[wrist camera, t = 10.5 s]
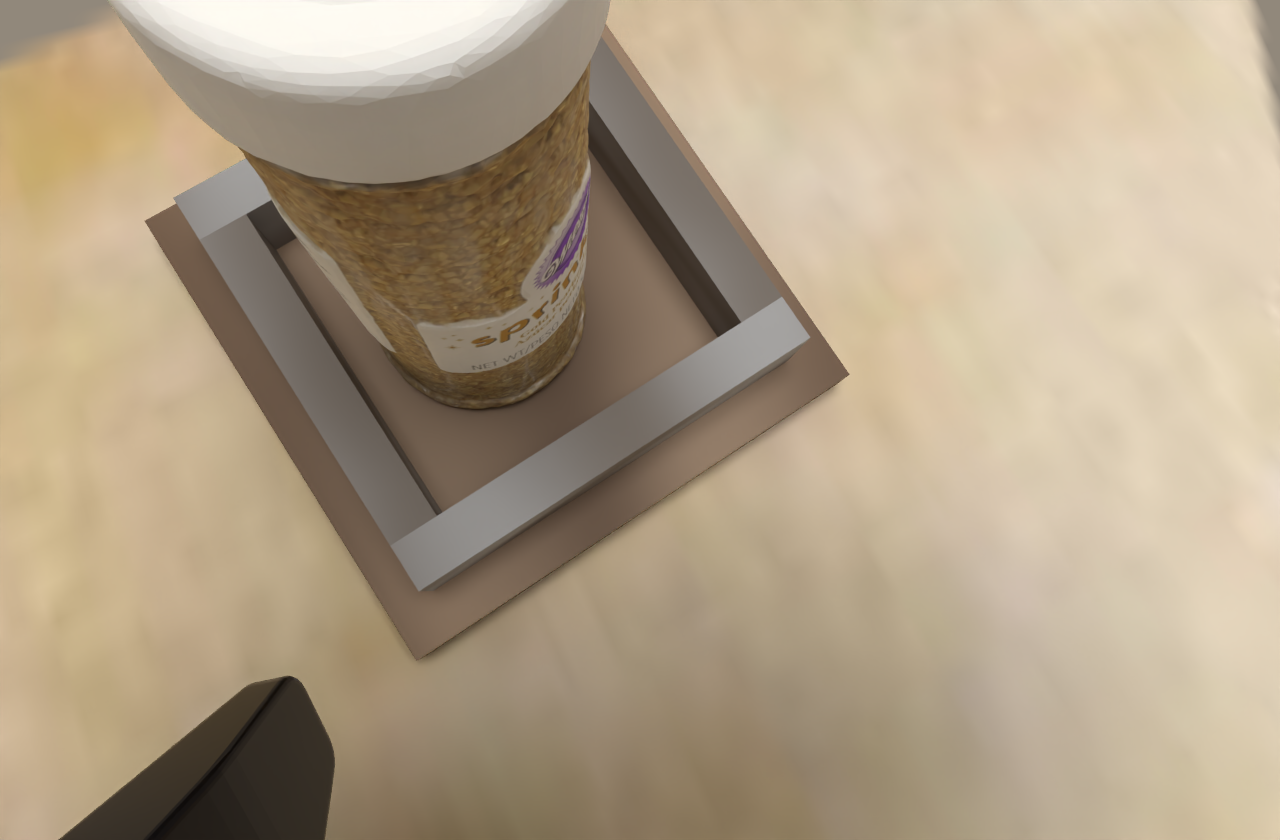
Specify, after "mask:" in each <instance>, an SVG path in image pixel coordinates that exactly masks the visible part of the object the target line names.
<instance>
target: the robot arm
mask: <svg viewBox="0 0 1280 840" xmlns="http://www.w3.org/2000/svg"><path fill="white" fill-rule="evenodd" d="M334 768H335V758H334V751H333V747H332V743H331V741H330V738H329V736H328V734H327V732H326V730H325V728H324V726H323V724H322V722H321V720H320V718H319V716H318V714H317V712H316V710H315V708H314V706H313V704H312V701H311V699H310V697H309V695H308V693H307V691H306V689H305V688H304V686H303V684H302V683H301V682H300V681H299V680H298V679H296V678H294V677H291V676H284V677H279V678H274V679H270V680H265V681H260V682H255V683H252V684H250V685H248V686H246V687H245V688H243V689H242V690H241V691H240V692H239V693H237V694H236V695H235V696H234V697H232V698H231V699H230V700H229V701H228V702H226V703H225V704H224V705H223V706H221V707H220V708H219V709H218V710H217V711H215V712H214V713H213V714H212V715H210V716H209V717H208V718H207V719H206V720H204V721H203V722H202V723H201V724H199V725H198V726H197V727H196V728H195V729H193V730H192V731H191V732H190V733H188V734H187V735H186V736H185V737H184V738H182V739H181V740H180V741H179V742H177V743H176V744H175V745H174V746H173V747H171V748H170V749H169V750H168V751H166V752H165V753H164V754H163V755H162V756H160V757H159V758H158V759H157V760H155V761H154V762H153V763H152V764H151V765H149V766H148V767H147V768H146V769H144V770H143V771H142V772H141V773H140V774H138V775H137V776H136V777H135V778H133V779H132V780H131V781H130V782H129V783H127V784H126V785H125V786H124V787H122V788H121V789H120V790H119V791H118V792H116V793H115V794H114V795H113V796H111V797H110V798H109V799H108V800H107V801H105V802H104V803H103V804H102V805H100V806H99V807H98V808H97V809H96V810H94V811H93V812H92V813H91V814H89V815H88V816H87V817H86V818H85V819H83V820H82V821H81V822H80V823H78V824H77V825H76V826H75V827H74V828H72V829H71V830H70V831H69V832H67V833H66V834H65V835H64V836H63V837H61V838H60V839H59V840H325V834H326V827H327V820H328V813H329V806H330V798H331V791H332V784H333V777H334Z"/></svg>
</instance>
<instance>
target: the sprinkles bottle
mask: <svg viewBox="0 0 1280 840" xmlns="http://www.w3.org/2000/svg"><path fill="white" fill-rule="evenodd" d="M107 1H108V3H109V4H110V5H111V7H112V8H113V10H114V11H115V13H116V14H117V15H118V17H119V18H120V20H121V21H122V23H123V24H124V25H125V27H126V28H127V30H128V31H129V33H130V34H131V35H132V37H133V38H134V39H135V41H136V42H137V43H138V45H139V46H140V47H141V49H142V50H143V51H144V53H145V54H146V55H147V57H148V58H149V59H150V61H151V62H152V63H153V65H154V66H155V67H156V69H157V70H158V71H159V73H160V74H161V75H162V77H163V78H164V79H165V81H166V82H167V83H168V85H169V86H170V87H171V88H172V89H173V90H174V92H175V93H176V94H177V95H178V96H179V97H180V98H181V99H182V101H183V102H184V103H185V104H186V105H187V106H188V107H189V108H190V109H191V110H192V111H193V112H194V113H195V114H196V115H197V116H198V117H200V118H201V119H202V120H203V121H204V122H205V123H206V124H207V125H209V126H210V127H211V128H212V129H214V130H215V131H216V132H217V133H219V134H220V135H221V136H222V137H224V138H225V139H226V140H228V141H229V142H231V143H233V144H234V145H236V146H238V148H239V149H240V150H241V151H242V152H243V153H244V155H245V157H246V159H247V160H248V162H249V163H250V165H251V166H252V167H253V168H254V169H255V171H256V172H257V174H258V175H259V177H260V178H261V179H262V181H263V182H264V184H265V186H266V189H267V192H268V194H269V196H270V198H271V200H272V201H273V203H274V205H275V207H276V208H277V210H278V212H279V213H280V215H281V216H282V218H283V219H284V221H285V222H286V223H287V225H288V226H289V227H290V229H291V230H292V232H293V233H294V234H295V236H296V237H297V238H298V240H299V241H300V242H301V244H302V245H303V246H304V248H305V249H306V251H307V252H308V253H309V255H310V256H311V257H312V259H313V260H314V261H315V263H316V264H317V265H318V266H319V268H320V269H321V270H322V272H323V273H324V274H325V276H326V277H327V278H328V279H329V281H330V282H331V283H332V285H333V286H334V287H335V289H336V290H337V291H338V292H339V294H340V295H341V296H342V298H343V299H344V300H345V301H346V303H347V304H348V305H349V307H350V308H351V309H352V310H353V312H354V313H355V314H356V316H357V317H358V318H359V320H360V321H361V322H362V324H363V325H364V326H365V327H366V329H367V330H368V331H369V332H370V333H371V334H372V335H373V336H374V337H375V338H376V339H377V340H378V341H379V342H380V345H381V347H382V349H383V351H384V353H385V355H386V357H387V358H388V360H389V361H390V362H391V363H392V364H393V365H394V367H395V368H396V369H397V370H398V371H399V373H400V374H401V375H402V377H403V378H404V380H405V381H406V382H407V383H409V384H410V385H411V386H413V387H415V388H416V389H418V390H419V391H421V392H422V393H423V394H425V395H427V396H429V397H430V398H432V399H434V400H436V401H438V402H440V403H442V404H445V405H449V406H454V407H460V408H469V409H486V408H489V407H500V406H504V405H508V404H514V403H516V402H518V401H521V400H523V399H525V398H527V397H529V396H531V395H533V394H535V393H536V392H537V391H539V390H541V389H542V388H543V387H545V386H546V385H547V384H548V383H550V382H551V381H552V379H553V378H554V377H555V376H556V375H557V374H558V373H560V372H561V371H562V369H563V368H564V366H565V365H566V364H567V363H568V362H569V361H570V360H571V358H572V357H573V355H574V352H575V350H576V347H577V345H578V344H579V342H580V340H581V337H582V332H583V327H584V322H585V315H586V300H585V292H584V286H583V278H584V273H585V267H586V253H587V233H588V212H589V194H590V178H591V167H590V160H589V156H588V153H587V151H588V129H587V128H588V121H589V88H590V86H589V79H590V64H591V58H592V56H593V54H594V52H595V49H596V47H597V44H598V42H599V40H600V37H601V35H602V32H603V30H604V27H605V23H606V20H607V16H608V10H609V5H610V0H107Z"/></svg>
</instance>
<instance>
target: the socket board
mask: <svg viewBox="0 0 1280 840" xmlns="http://www.w3.org/2000/svg"><path fill="white" fill-rule="evenodd" d="M589 86H590V88H589V121H588V128H587V129H588V151H587V153H588V156H589V160H590V167H591V178H590V194H589V212H588V233H587V253H586V267H585V273H584V278H583V286H584V292H585V300H586V315H585V322H584V327H583V332H582V337H581V340H580V342H579V344H578V345H577V347H576V350H575V352H574V355H573V357H572V358H571V360H570V361H569V362H568V363H567V364H566V365H565V366H564V368H563V369H562V371H561V372H560V373H558V374H557V375H556V376H555V377H554V378H553V379H552V381H551V382H550V383H548V384H547V385H546V386H545V387H543V388H542V389H541V390H539V391H537V392H536V393H535V394H533V395H531V396H529V397H527V398H525V399H523V400H521V401H518V402H516V403H514V404H508V405H504V406H500V407H489V408H486V409H469V408H460V407H454V406H449V405H445V404H442V403H440V402H438V401H436V400H434V399H432V398H430V397H429V396H427V395H425V394H423V393H422V392H421V391H419V390H418V389H416V388H415V387H413V386H411V385H410V384H409V383H407V382H406V381H405V380H404V378H403V377H402V375H401V374H400V373H399V371H398V370H397V369H396V368H395V367H394V365H393V364H392V363H391V362H390V361H389V360H388V358H387V357H386V355H385V353H384V351H383V349H382V347H381V345H380V342H379V341H378V340H377V339H376V338H375V337H374V336H373V335H372V334H371V333H370V332H369V331H368V330H367V329H366V327H365V326H364V325H363V324H362V322H361V321H360V320H359V318H358V317H357V316H356V314H355V313H354V312H353V310H352V309H351V308H350V307H349V305H348V304H347V303H346V301H345V300H344V299H343V298H342V296H341V295H340V294H339V292H338V291H337V290H336V289H335V287H334V286H333V285H332V283H331V282H330V281H329V279H328V278H327V277H326V276H325V274H324V273H323V272H322V270H321V269H320V268H319V266H318V265H317V264H316V263H315V261H314V260H313V259H312V257H311V256H310V255H309V253H308V252H307V251H306V249H305V248H304V246H303V245H302V244H301V242H300V241H299V240H298V238H297V237H296V236H295V234H294V233H293V232H292V230H291V229H290V227H289V226H288V225H287V223H286V222H285V221H284V219H283V218H282V216H281V215H280V213H279V212H278V210H277V208H276V207H275V205H274V203H273V201H272V200H271V198H270V196H269V194H268V192H267V189H266V186H265V184H264V182H263V181H262V179H261V178H260V177H259V175H258V174H257V172H256V171H255V169H254V168H253V167H252V166H251V165H250V163H249V162H248V160H247V159H244V160H242V161H240V162H238V163H237V164H235V165H233V166H231V167H229V168H227V169H226V170H224V171H222V172H220V173H218V174H216V175H215V176H213V177H211V178H209V179H207V180H205V181H204V182H202V183H200V184H198V185H196V186H194V187H193V188H191V189H189V190H187V191H185V192H183V193H182V194H180V195H178V196H176V197H174V200H175V202H176V203H177V204H175V205H173V206H171V207H169V208H168V209H166V210H164V211H162V212H160V213H158V214H157V215H155V216H153V217H151V218H149V219H147V220H146V221H145V222H146V224H147V226H148V227H149V229H150V231H151V232H152V234H153V235H154V237H155V239H156V240H157V242H158V243H159V245H160V247H161V248H162V250H163V252H164V253H165V255H166V256H167V258H168V260H169V261H170V263H171V264H172V266H173V268H174V269H175V271H176V273H177V274H178V276H179V277H180V279H181V281H182V282H183V284H184V285H185V287H186V289H187V290H188V292H189V294H190V295H191V297H192V298H193V300H194V302H195V303H196V305H197V307H198V308H199V310H200V311H201V313H202V315H203V316H204V318H205V319H206V321H207V323H208V324H209V326H210V328H211V329H212V331H213V332H214V334H215V336H216V337H217V339H218V340H219V342H220V344H221V345H222V347H223V349H224V350H225V352H226V353H227V355H228V357H229V358H230V360H231V361H232V363H233V365H234V366H235V368H236V370H237V371H238V373H239V374H240V376H241V378H242V379H243V381H244V383H245V384H246V386H247V387H248V389H249V391H250V392H251V394H252V395H253V397H254V399H255V400H256V402H257V404H258V405H259V407H260V408H261V410H262V412H263V413H264V415H265V416H266V418H267V420H268V421H269V423H270V425H271V426H272V428H273V429H274V431H275V433H276V434H277V436H278V437H279V439H280V441H281V442H282V444H283V446H284V447H285V449H286V450H287V452H288V454H289V455H290V457H291V459H292V460H293V462H294V463H295V465H296V467H297V468H298V470H299V471H300V473H301V475H302V476H303V478H304V480H305V481H306V483H307V484H308V486H309V488H310V489H311V491H312V492H313V494H314V496H315V497H316V499H317V501H318V502H319V504H320V505H321V507H322V509H323V510H324V512H325V513H326V515H327V517H328V518H329V520H330V522H331V523H332V525H333V526H334V528H335V530H336V531H337V533H338V535H339V536H340V538H341V539H342V541H343V543H344V544H345V546H346V547H347V549H348V551H349V552H350V554H351V556H352V557H353V559H354V560H355V562H356V564H357V565H358V567H359V568H360V570H361V572H362V573H363V575H364V577H365V578H366V580H367V581H368V583H369V585H370V586H371V588H372V589H373V591H374V593H375V594H376V596H377V598H378V599H379V601H380V602H381V604H382V606H383V607H384V609H385V611H386V612H387V614H388V615H389V617H390V619H391V620H392V622H393V623H394V625H395V627H396V628H397V630H398V632H399V633H400V635H401V636H402V638H403V640H404V641H405V643H406V644H407V646H408V648H409V649H410V651H411V653H412V654H413V656H414V657H415V659H416V661H417V660H419V659H421V658H423V657H424V656H426V655H427V654H429V653H431V652H432V651H434V650H435V649H437V648H438V647H440V646H441V645H443V644H444V643H446V642H447V641H449V640H450V639H452V638H453V637H455V636H456V635H458V634H459V633H461V632H462V631H464V630H465V629H467V628H468V627H470V626H471V625H473V624H474V623H476V622H477V621H479V620H480V619H482V618H483V617H485V616H486V615H488V614H490V613H491V612H493V611H494V610H496V609H497V608H499V607H500V606H502V605H503V604H505V603H506V602H508V601H509V600H511V599H512V598H514V597H515V596H517V595H518V594H520V593H521V592H523V591H524V590H526V589H527V588H529V587H530V586H532V585H533V584H535V583H536V582H538V581H539V580H541V579H542V578H544V577H545V576H547V575H548V574H550V573H552V572H553V571H555V570H556V569H558V568H559V567H561V566H562V565H564V564H565V563H567V562H568V561H570V560H571V559H573V558H574V557H576V556H577V555H579V554H580V553H582V552H583V551H585V550H586V549H588V548H589V547H591V546H592V545H594V544H595V543H597V542H598V541H600V540H601V539H603V538H604V537H606V536H607V535H609V534H611V533H612V532H614V531H615V530H617V529H618V528H620V527H621V526H623V525H624V524H626V523H627V522H629V521H630V520H632V519H633V518H635V517H636V516H638V515H639V514H641V513H642V512H644V511H645V510H647V509H648V508H650V507H651V506H653V505H654V504H656V503H657V502H659V501H660V500H662V499H663V498H665V497H666V496H668V495H669V494H671V493H673V492H674V491H676V490H677V489H679V488H680V487H682V486H683V485H685V484H686V483H688V482H689V481H691V480H692V479H694V478H695V477H697V476H698V475H700V474H701V473H703V472H704V471H706V470H707V469H709V468H710V467H712V466H713V465H715V464H716V463H718V462H719V461H721V460H722V459H724V458H725V457H727V456H728V455H730V454H732V453H733V452H735V451H736V450H738V449H739V448H741V447H742V446H744V445H745V444H747V443H748V442H750V441H751V440H753V439H754V438H756V437H757V436H759V435H760V434H762V433H763V432H765V431H766V430H768V429H769V428H771V427H772V426H774V425H775V424H777V423H778V422H780V421H781V420H783V419H784V418H786V417H787V416H789V415H790V414H792V413H794V412H795V411H797V410H798V409H800V408H801V407H803V406H804V405H806V404H807V403H809V402H810V401H812V400H813V399H815V398H816V397H818V396H819V395H821V394H822V393H824V392H825V391H827V390H828V389H830V388H831V387H833V386H834V385H836V384H837V383H839V382H840V381H841V380H843V379H844V378H845V377H847V376H848V375H849V373H848V372H847V370H846V369H845V367H844V366H843V364H842V363H841V362H840V360H839V359H838V357H837V356H836V354H835V353H834V352H833V350H832V349H831V347H830V346H829V344H828V343H827V341H826V340H825V339H824V337H823V336H822V334H821V333H820V331H819V330H818V329H817V327H816V326H815V324H814V323H813V321H812V320H811V318H810V317H809V316H808V314H807V313H806V311H805V310H804V308H803V307H802V306H801V304H800V303H799V301H798V300H797V298H796V297H795V295H794V294H793V293H792V291H791V290H790V288H789V287H788V285H787V284H786V283H785V281H784V280H783V278H782V277H781V275H780V274H779V272H778V271H777V270H776V268H775V267H774V265H773V264H772V262H771V261H770V260H769V258H768V257H767V255H766V254H765V252H764V251H763V250H762V248H761V247H760V245H759V244H758V242H757V241H756V239H755V238H754V237H753V235H752V234H751V232H750V231H749V229H748V228H747V227H746V225H745V224H744V222H743V221H742V219H741V218H740V216H739V215H738V214H737V212H736V211H735V209H734V208H733V206H732V205H731V204H730V202H729V201H728V199H727V198H726V196H725V195H724V193H723V192H722V191H721V189H720V188H719V186H718V185H717V183H716V182H715V181H714V179H713V178H712V176H711V175H710V173H709V172H708V170H707V169H706V168H705V166H704V165H703V163H702V162H701V160H700V159H699V158H698V156H697V155H696V153H695V152H694V150H693V149H692V147H691V146H690V145H689V143H688V142H687V140H686V139H685V137H684V136H683V135H682V133H681V132H680V130H679V129H678V127H677V126H676V124H675V123H674V122H673V120H672V119H671V117H670V116H669V114H668V113H667V112H666V110H665V109H664V107H663V106H662V104H661V103H660V101H659V100H658V99H657V97H656V96H655V94H654V93H653V91H652V90H651V89H650V87H649V86H648V84H647V83H646V81H645V80H644V79H643V77H642V76H641V74H640V73H639V71H638V70H637V68H636V67H635V66H634V64H633V63H632V61H631V60H630V58H629V57H628V56H627V54H626V53H625V51H624V50H623V48H622V47H621V45H620V44H619V43H618V41H617V40H616V38H615V37H614V35H613V34H612V33H611V31H610V30H609V28H608V27H607V25H606V24H605V27H604V30H603V32H602V35H601V37H600V40H599V42H598V44H597V47H596V49H595V52H594V54H593V56H592V58H591V64H590V79H589Z"/></svg>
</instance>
